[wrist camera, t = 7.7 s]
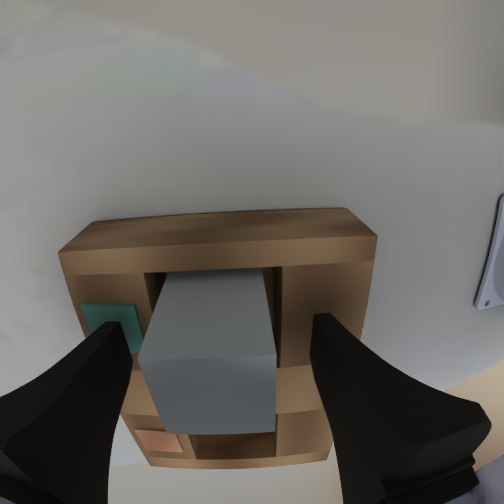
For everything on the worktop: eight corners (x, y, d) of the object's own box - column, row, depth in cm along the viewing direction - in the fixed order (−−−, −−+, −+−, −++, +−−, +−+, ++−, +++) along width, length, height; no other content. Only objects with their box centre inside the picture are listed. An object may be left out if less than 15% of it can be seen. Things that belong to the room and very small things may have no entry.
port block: (346, 208, 14) (379, 237, 11) (317, 422, 20) (327, 462, 17) (91, 222, 14) (55, 254, 10) (157, 428, 20) (150, 468, 17)
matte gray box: (257, 246, 14) (276, 354, 8) (259, 313, 15) (274, 431, 9) (176, 250, 14) (137, 358, 7) (187, 316, 15) (166, 433, 9)
